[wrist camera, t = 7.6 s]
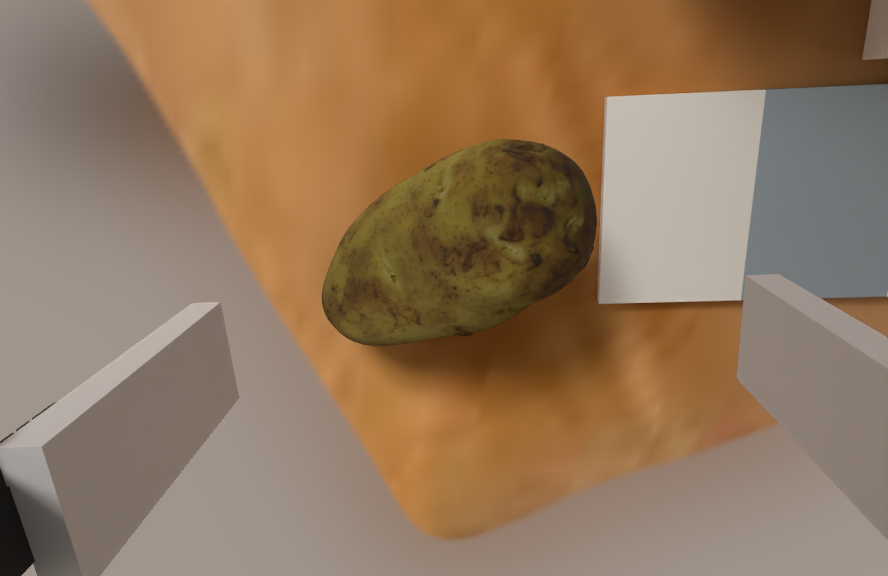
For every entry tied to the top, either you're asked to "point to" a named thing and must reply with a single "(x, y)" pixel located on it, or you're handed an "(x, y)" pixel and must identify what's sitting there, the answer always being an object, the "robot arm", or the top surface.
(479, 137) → the top surface
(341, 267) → the potato
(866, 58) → the die
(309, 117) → the top surface
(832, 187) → the track
